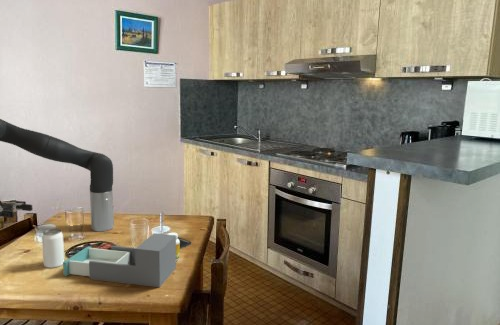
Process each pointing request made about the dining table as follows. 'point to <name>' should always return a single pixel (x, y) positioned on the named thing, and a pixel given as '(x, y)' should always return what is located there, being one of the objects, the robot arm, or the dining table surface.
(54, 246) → the can
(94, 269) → the dock
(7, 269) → the dining table surface
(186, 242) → the phone
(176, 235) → the supplement bottle
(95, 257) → the tray
